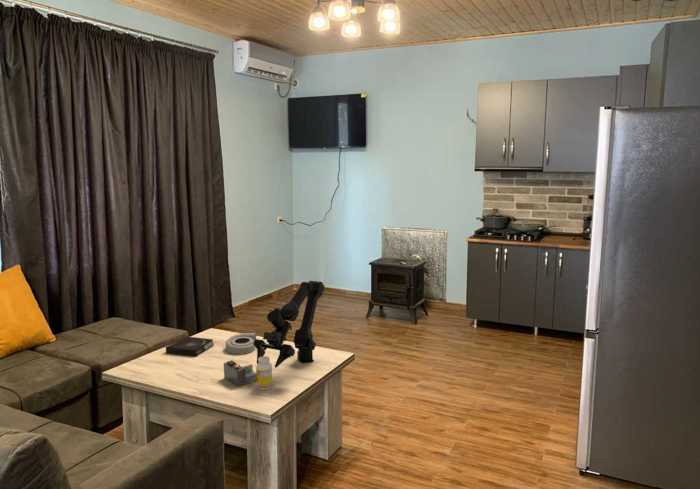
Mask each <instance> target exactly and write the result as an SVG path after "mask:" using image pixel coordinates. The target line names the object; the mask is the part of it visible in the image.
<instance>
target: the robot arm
mask: <svg viewBox="0 0 700 489" xmlns="http://www.w3.org/2000/svg"><path fill="white" fill-rule="evenodd" d="M324 291H325V284H324V282H322V281H317V280H309V281H302V282H301V283H300V286H299V287H298V289H297V291H296V292H295V293H294V295H293V296H292V298H291V300H290V301H289V302H287V303H285V304H284V305H283V306H282V308H281V309H280V308H274V310H271V311H270V312H269V313H268V314H267V315H266V316H267V317H266V318H267V321H268V322H269V323H270V325H271V326H272V327H273V328H274V331H273V330H272V331H270V332H267V331H264V332H263V336H262V339H259V338H256V340H254V342H253V345H254V346H255V349H256V365H257V364H258V363H259V362H258V358H260V357H264V356H265V354H266V351H267V349H270V350H274V351H275V350H276V351H279V355H278V357H277V359H276V361H275V365H274V367H275V368H276V369H277V368H278V367H279V366H280V365H281V364H282V363H284V362H285V361H286V360H287V359H288V358H289V359H290V358H291V357H295V354H297V355H296V357H297V361H298V362H299V363H300V364H306V363H307V364H308V363H313V362H315V360H314V358H313V356H314V355H313V354H314V353H313V351H315V349H316V342H315V341H314V339H313V338H314V337H313V336H314V335H313V332H312V325H313V322H314V319H315V318H314V316H315V314H316V308H317V304H318V300H319V299H320V298H322V297H323V296H322V295H323V293H324ZM306 298H307V299H306ZM305 299H306V303H305V307H304V311H303V317H302V320H301V325H300V327H299V329H296V330H295V333H294V336H293V343H294V347H293V346H292V345H291V344H287V343H284V342H286V341H287V334H288V333H289V330H292V329H293V326H292V322H295V321H296V320H297V319H298V316H299V315H300V314H299V313H300V312H299V311H300V307H301V306H302V304H303V302H304V301H305ZM264 340H265V341H266V342H265V341H264ZM295 349H298V350H297V351H296V350H295Z"/></svg>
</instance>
